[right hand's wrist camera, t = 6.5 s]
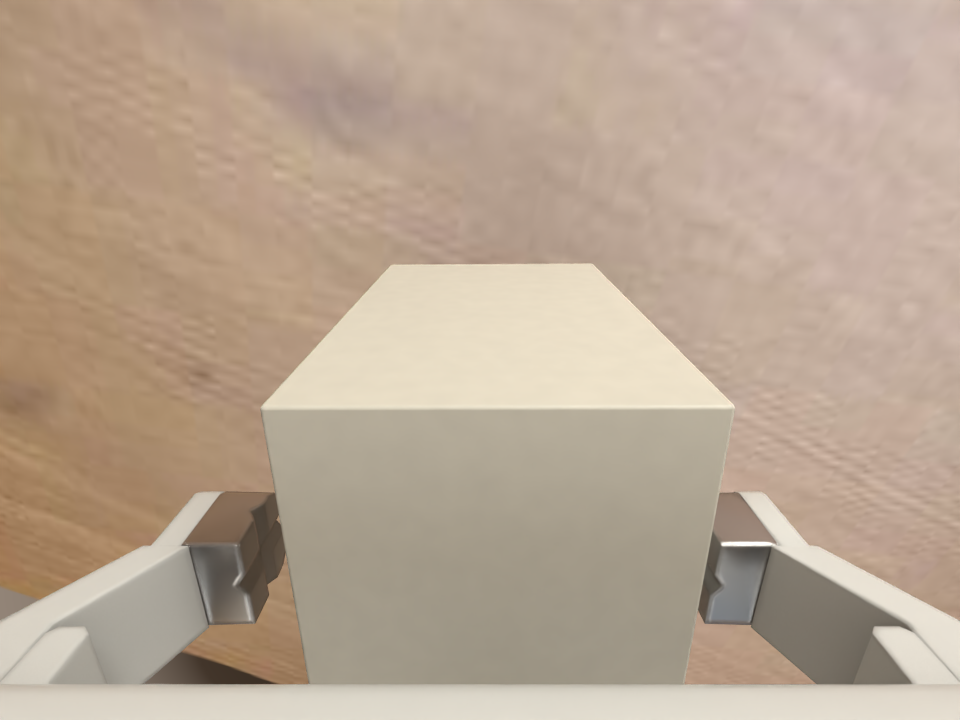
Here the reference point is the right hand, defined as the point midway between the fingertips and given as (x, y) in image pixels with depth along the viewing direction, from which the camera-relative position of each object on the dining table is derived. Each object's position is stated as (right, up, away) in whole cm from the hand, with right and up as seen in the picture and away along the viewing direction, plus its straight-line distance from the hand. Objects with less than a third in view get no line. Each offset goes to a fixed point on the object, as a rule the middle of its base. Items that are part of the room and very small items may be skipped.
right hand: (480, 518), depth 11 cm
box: (0, -6, +10) cm, 12 cm away
